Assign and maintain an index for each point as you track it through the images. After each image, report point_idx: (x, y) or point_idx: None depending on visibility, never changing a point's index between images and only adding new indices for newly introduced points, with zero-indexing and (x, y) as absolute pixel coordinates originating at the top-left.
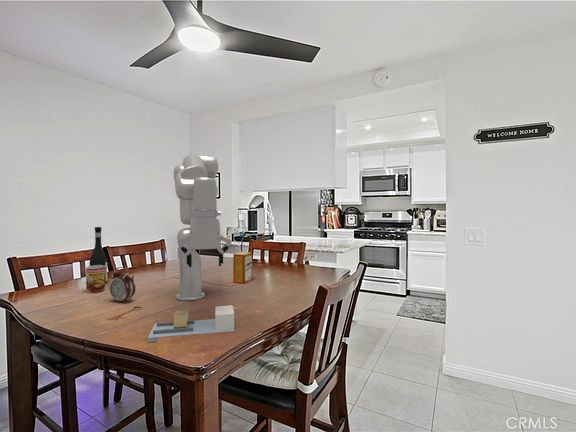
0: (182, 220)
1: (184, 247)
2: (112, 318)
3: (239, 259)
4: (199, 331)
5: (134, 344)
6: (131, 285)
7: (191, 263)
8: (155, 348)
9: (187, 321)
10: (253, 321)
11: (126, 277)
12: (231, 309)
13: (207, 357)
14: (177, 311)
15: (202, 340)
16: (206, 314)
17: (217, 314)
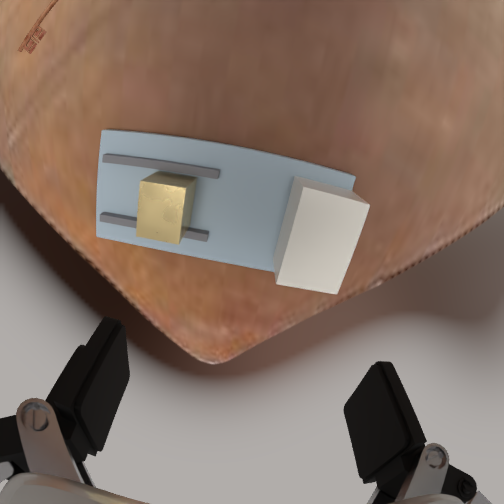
0: None
1: (8, 474)
2: (25, 43)
3: None
4: (226, 247)
5: (78, 229)
6: None
7: (117, 357)
8: (123, 269)
9: (190, 205)
10: (404, 200)
11: None
12: (347, 250)
13: (229, 345)
14: (146, 192)
15: (231, 271)
16: (285, 57)
17: (284, 280)
